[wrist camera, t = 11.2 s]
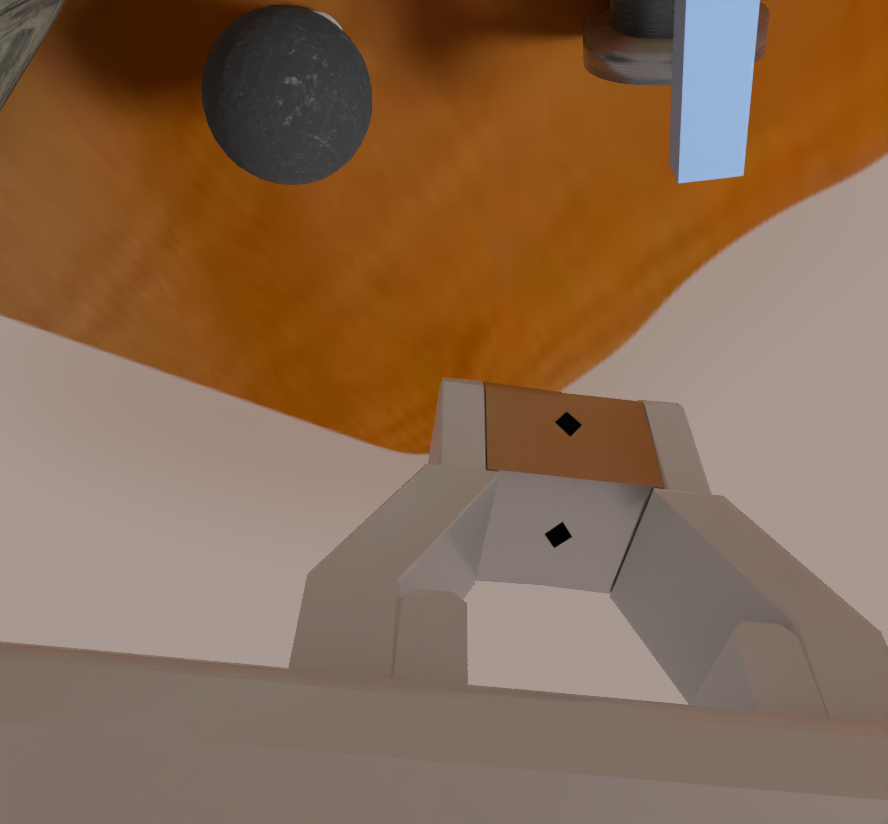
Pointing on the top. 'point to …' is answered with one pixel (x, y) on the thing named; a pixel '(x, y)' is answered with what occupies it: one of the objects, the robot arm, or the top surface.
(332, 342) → the top surface
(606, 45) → the valve
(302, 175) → the light bulb
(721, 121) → the lever
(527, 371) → the top surface
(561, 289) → the top surface
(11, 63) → the tabletop clock
